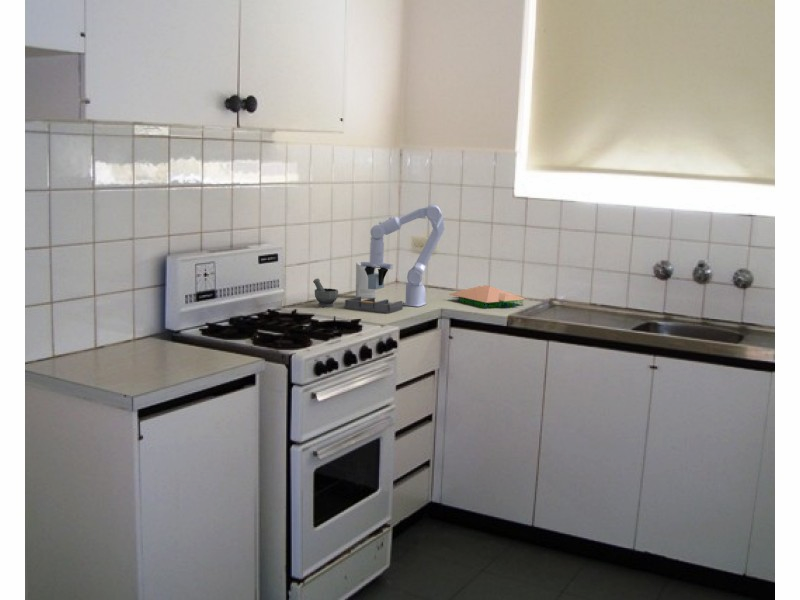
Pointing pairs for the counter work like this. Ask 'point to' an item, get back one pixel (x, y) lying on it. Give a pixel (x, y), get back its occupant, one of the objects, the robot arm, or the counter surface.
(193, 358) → the counter surface
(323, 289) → the mortar and pestle
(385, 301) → the rack
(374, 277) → the rectangular block
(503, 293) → the house
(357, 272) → the skincare box
